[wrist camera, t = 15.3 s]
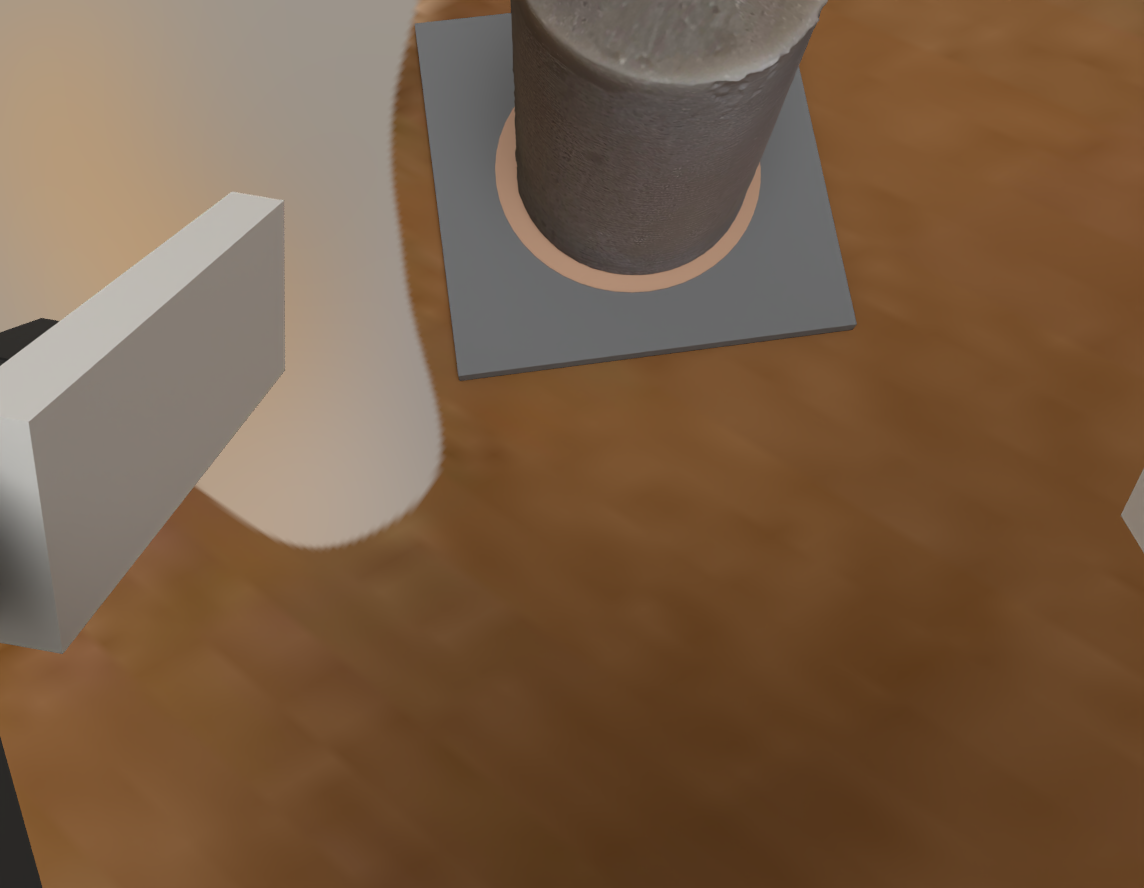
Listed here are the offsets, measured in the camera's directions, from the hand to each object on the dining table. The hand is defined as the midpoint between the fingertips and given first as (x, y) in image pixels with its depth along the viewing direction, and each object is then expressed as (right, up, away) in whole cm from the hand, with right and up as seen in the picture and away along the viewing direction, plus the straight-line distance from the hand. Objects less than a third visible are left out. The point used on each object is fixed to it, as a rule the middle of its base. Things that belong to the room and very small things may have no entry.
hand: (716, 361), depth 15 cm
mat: (0, +10, +29) cm, 31 cm away
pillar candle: (0, +10, +28) cm, 30 cm away
